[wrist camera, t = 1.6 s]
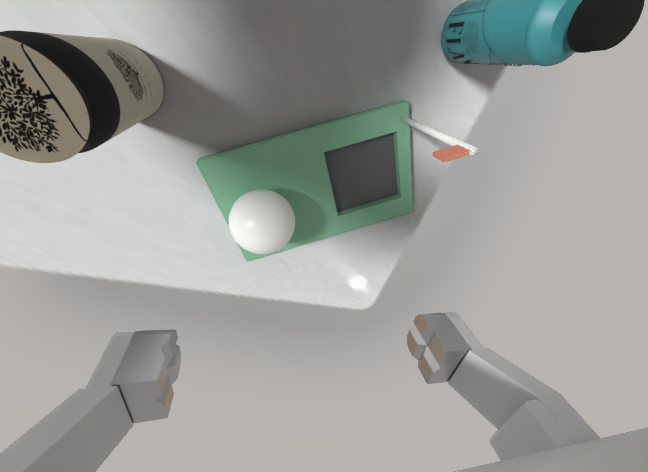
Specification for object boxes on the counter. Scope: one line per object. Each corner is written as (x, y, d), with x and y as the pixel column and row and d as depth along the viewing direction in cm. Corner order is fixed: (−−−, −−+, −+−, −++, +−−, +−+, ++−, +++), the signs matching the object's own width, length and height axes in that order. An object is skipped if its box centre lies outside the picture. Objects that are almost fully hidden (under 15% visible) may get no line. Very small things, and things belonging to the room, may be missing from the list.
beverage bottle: (427, 19, 35) (578, -11, 18) (477, -11, 34) (680, -70, 18) (438, 72, 38) (572, 88, 22) (483, 46, 38) (656, 42, 21)
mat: (247, 256, 49) (242, 341, 34) (198, 158, 38) (162, 222, 24) (409, 207, 50) (470, 270, 35) (404, 100, 39) (487, 127, 25)
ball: (232, 231, 44) (227, 268, 36) (229, 177, 39) (223, 206, 32) (290, 232, 46) (296, 266, 39) (293, 180, 41) (301, 208, 34)
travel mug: (104, 120, 34) (-14, 172, 19) (69, 40, 29) (-120, 28, 15) (174, 115, 35) (113, 161, 20) (150, 38, 31) (49, 25, 16)
